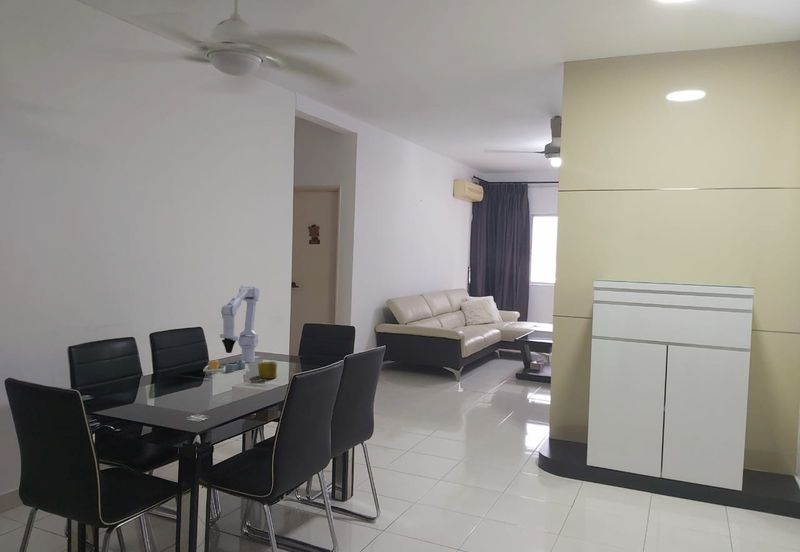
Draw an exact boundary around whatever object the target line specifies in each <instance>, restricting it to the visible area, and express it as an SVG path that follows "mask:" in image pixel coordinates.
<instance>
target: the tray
mask: <svg viewBox="0 0 800 552" xmlns="http://www.w3.org/2000/svg"><path fill="white" fill-rule="evenodd" d="M219 368H220V369H210V365H206V366H205V367H204V368H203V369H202V370H203V371H202V372H225V365H220V364H219Z"/></svg>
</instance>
